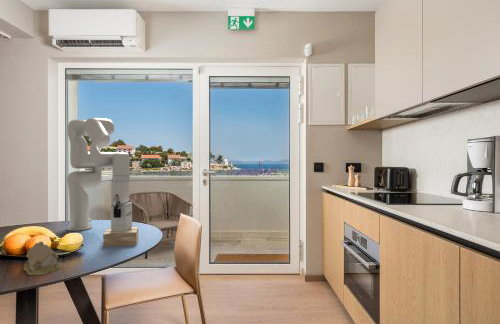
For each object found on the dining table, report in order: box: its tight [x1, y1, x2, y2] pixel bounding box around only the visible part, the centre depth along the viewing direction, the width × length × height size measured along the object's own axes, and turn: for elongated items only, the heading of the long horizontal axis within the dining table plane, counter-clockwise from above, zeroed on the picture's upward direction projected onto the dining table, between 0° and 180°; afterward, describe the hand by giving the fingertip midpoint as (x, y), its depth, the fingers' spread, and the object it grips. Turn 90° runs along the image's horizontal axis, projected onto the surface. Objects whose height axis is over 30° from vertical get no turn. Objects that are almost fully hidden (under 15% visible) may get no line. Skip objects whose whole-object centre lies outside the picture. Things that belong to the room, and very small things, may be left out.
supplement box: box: [110, 201, 133, 231], centre depth 165 cm, size 7×7×13 cm
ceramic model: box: [23, 241, 61, 276], centre depth 126 cm, size 14×11×10 cm
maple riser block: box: [102, 226, 139, 248], centre depth 165 cm, size 14×14×6 cm
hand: (121, 215), depth 165 cm, fingers open, 9 cm apart
